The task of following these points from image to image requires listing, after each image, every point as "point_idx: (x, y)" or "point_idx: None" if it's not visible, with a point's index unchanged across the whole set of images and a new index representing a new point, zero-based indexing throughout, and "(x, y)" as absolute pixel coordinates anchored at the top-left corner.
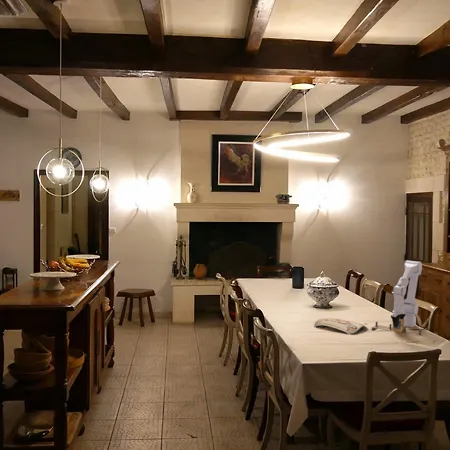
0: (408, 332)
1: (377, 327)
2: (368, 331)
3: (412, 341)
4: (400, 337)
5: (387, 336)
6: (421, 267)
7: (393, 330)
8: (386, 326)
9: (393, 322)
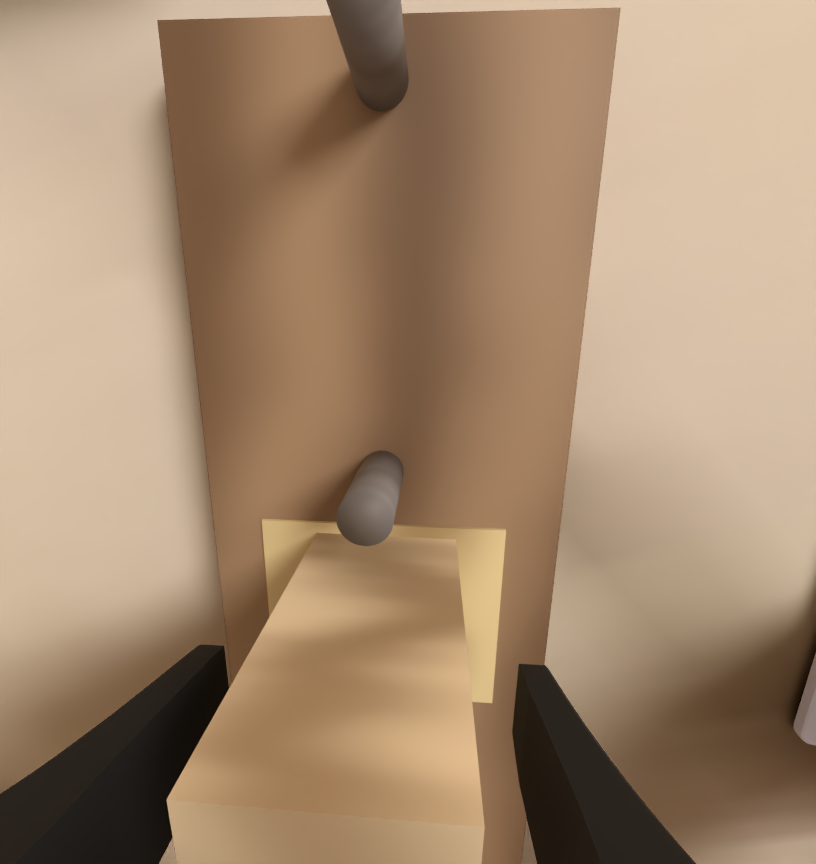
0: None
1: (284, 163)
2: (3, 72)
3: None
4: (135, 691)
5: (11, 527)
6: None
7: (291, 563)
8: (560, 316)
9: (78, 758)
